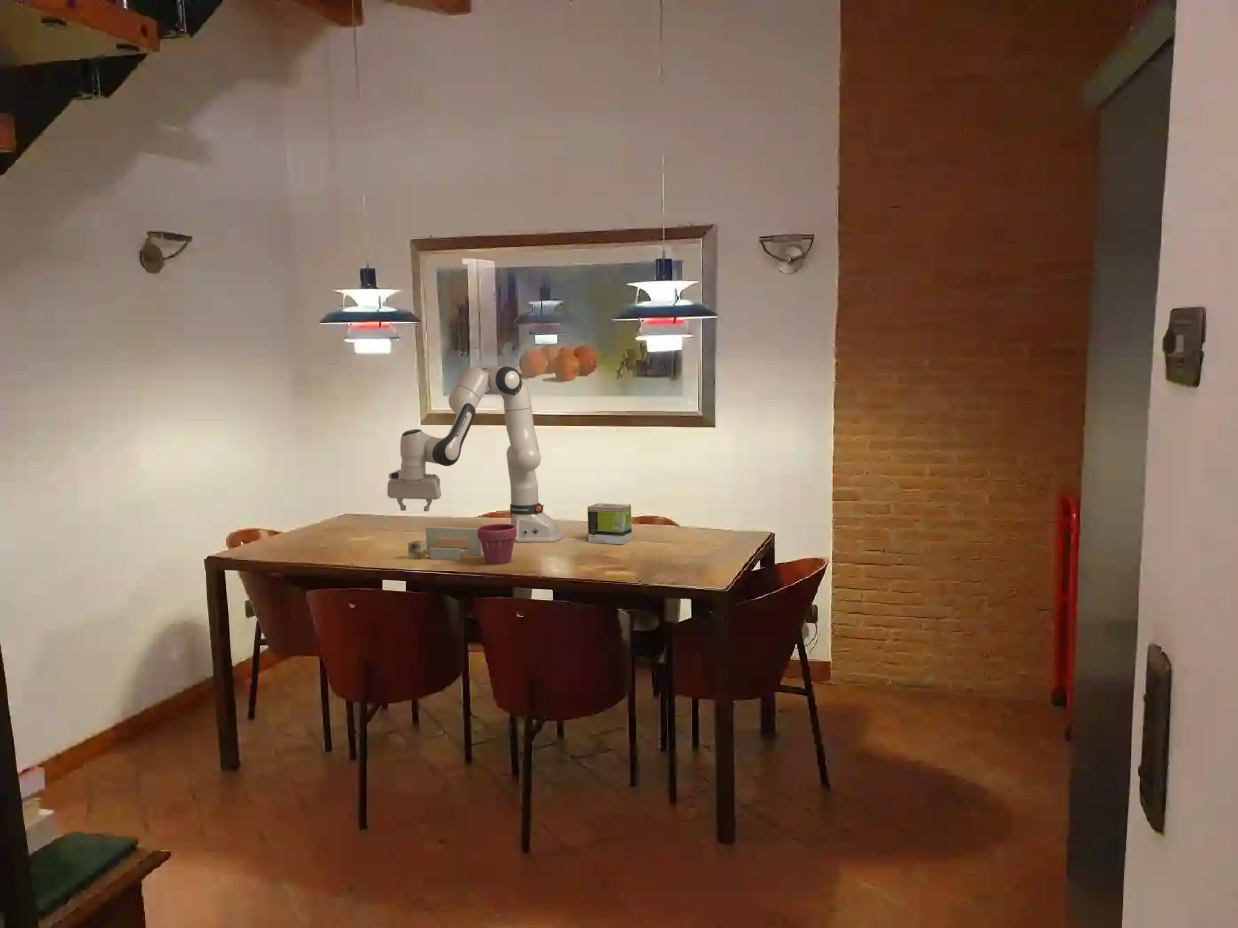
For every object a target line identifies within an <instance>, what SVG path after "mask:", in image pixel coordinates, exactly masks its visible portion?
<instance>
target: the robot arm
mask: <svg viewBox="0 0 1238 928" xmlns="http://www.w3.org/2000/svg"><path fill="white" fill-rule="evenodd" d="M484 395H496V396H497V395H499V396H501V398H502V401H503V410H504V420H505V428H506V432H507V436H508V439H509V440H508V441H509V446H508V448H507V450H506V459H507V470H508V477H509V484H510V504H509V513H510V514H509V515H510V524H511V525H515V526H516V530H517V536H516V537H515V538H514V542H516V543H540V542H541V543H545V542H547V543H549V542H551V543H553V542H558V541H560V540H562V539H563V538H564V533H563V532H559V529H558V524H557V522H556V521H555V520H554V519H553V518H551V517H550V515H547V514H546V513H545V512H544V507H545V504H544V503H543V504H542V503H540V502H539V483H538V479H537V473H536V469H537V468H538V467H539V466H540V464H541V461H542V456H541V453H540V448H539V442H538V437H537V435H536V430H535V425H534V424H535V422H534V417H533V408H532V401H531V395H530V392H529V388H528V386H527V384H526V383H525V382H523V380H522V377H521V374H520V373H519V371H518V370H517V368H514V367H511V366H509V365H508V366H507V365H505V366H504V365H495V366H490V367H484V368H479V367H470V368H468V369H467V370H465V372H464V373H463V375H461V377H460V378H459V379H458V381H457V382H456V384H455V385H454V387H453V389H452V390H451V392H450V394H449V397H448V405H449V407H450V410H451V411H452V412H453V413H454V414H455V419H454V422H453V423H452V426H451V428H450V430H449V433H448V434H447V435H446V436H444V437H435V436H432V435H430V434H427V433H425V431H423V430H422V429H420V428H419V429H418V428H416V429H415V428H414V429H410V430H406V431H404V432H403V433H402V434H401V437H400V443H399V444H400V445H399V446H400V447H399V448H400V449H399V450H400V452H399V453H400V458H401V463H400V469H397V470H396V471H393V472H392V471H391V472H390V473H388V479H389V480H388V482H387V487H386V488H387V489H386V490H387V493H386V494H387V496H388V498H389V499H396V502H397V503H398V505H399V507H400V511H407V505H406V504H404V502H403V501H404V499H407V500H409V499H410V500H425V502H426V505H424V506H423V512H429V511H430V506H431V504H432V502H433V501H434V500H436V501H437V500H438V499H440V498H441V496H442V490H441V485H440V484H441V479H440V477H439V476H438V475H437V474H434V473H432V474H430V473H427V472H426V471H427V469H426V463H432V464H437V465H441V466H444V467H450V466H451V467H452V466H453V465H455V464H456V463H457V462H458V461H459V458H460V457H461V452H462V448H463V447H462V446H463V444H464V441H465V439H466V437H467V435H468V433H469V430H470V428H471V426H472V424H473V422H474V420H475V416H476V410H477V407H478V405H479V404H480V401H481V400H482V398H483V396H484Z"/></svg>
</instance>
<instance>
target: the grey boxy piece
mask: <svg viewBox="0 0 1238 928" xmlns="http://www.w3.org/2000/svg"><path fill="white" fill-rule="evenodd" d="M478 528H479V527H451V526H449V527H446V526H445V527H444V526H443V527H442V526H426V527H425V541H426V555H429V559H430V560H452V561H453V560H454V561H461V560H463V559H465V558H467V557H468V556H476V557H477V556H484V553H483V549H482V545H481V541H480V539H478Z"/></svg>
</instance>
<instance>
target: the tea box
mask: <svg viewBox="0 0 1238 928" xmlns="http://www.w3.org/2000/svg"><path fill="white" fill-rule="evenodd" d="M632 526H633V525H632V505H631V504H629V503H628V504H626V503H625V504H624V503H623V504H622V503H604V502H603V503H602V502H597V503H593V504H592V505H589V506H587V533H588V534H587V535H588V543H594V544H595V543H597V544H609V545H624V544H627V543H629V542H632V539H633V535H632V534H633V531H632V530H633V529H632Z"/></svg>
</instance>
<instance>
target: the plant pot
mask: <svg viewBox="0 0 1238 928" xmlns="http://www.w3.org/2000/svg"><path fill="white" fill-rule="evenodd" d="M477 528H478V539H480V541H481V545H482V549H483V556H484V559H485V563H486V564H489V565H490V564H491V565H502V564H508V563H510V562H511V561H512V555H513V549H514V544H515V541H514V538H515V537H516V536H517V530H516V526H515V525H511V523H493V524H485V525H481V526H479V527H477Z"/></svg>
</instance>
